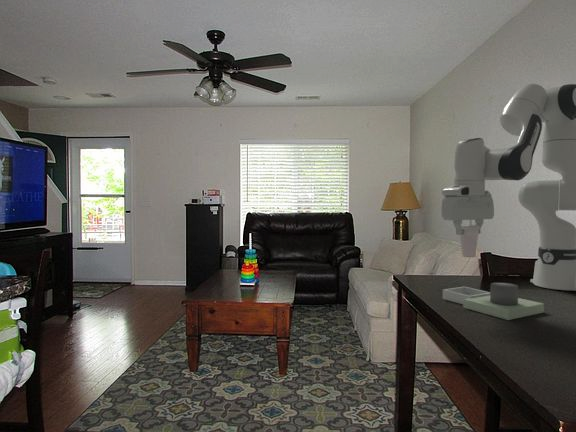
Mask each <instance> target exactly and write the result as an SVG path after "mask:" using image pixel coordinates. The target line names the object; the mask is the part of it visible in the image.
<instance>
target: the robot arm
mask: <svg viewBox="0 0 576 432" xmlns="http://www.w3.org/2000/svg"><path fill="white" fill-rule="evenodd" d="M499 122H500V125H501V127H502V128H503V130H504V131H505V132H507V133H508V134H510V135H512V136H515V137H518V139H517V142H516V144H514V145H512V146H509V147H507V148H498V149H491V148H488V147H487V146H486V145H485V142H484V138H482V137H474V138H468V139H463V140H459V142H457V144H456V146H455V152H454V161H453V162H454V164H453V165H454V166H453V167H454V172H455V176H454V179H453V184H452V185H450V186H447V187H445V188H442V191H441V194H442V196H443V198H442V200H441V218H442V219H443V220H444V221H453V223H452V224H453V226H454V229H455V234H456V236H457V235H458V236H460V235H463V234H464V229H462V227H461V225H462V224H463V221H469V220H471V221H474V223H475V224H474V225H478V226H480V229H479V231H478V235H479V234H481V233H482V232H481V231H482V230H481V228H482V227H483V224H484V220H493V219H494V216H495V207H494V206H495V205H494V199H493V197H492V194H491V192H490V191H489V190H486V188H485V187H486V181H504V180H505V181H521V180H523V179H524V178H525V177H526V176H527V175H528V174H529V173H530V171H531V169H532V165H533V158H534V154H535V151H536V149H537V145H538V142H539V140H540V136H541V133H542V128H543V123H545V126H544V130H543V137H542V159H541V160H542V161H541V162H542V164H543V166H544V167H545V168H547V169H548V170H549V171H553V172H555V173H558V174H559V175H561V177H562V179H559V180H552V179H551V180H535V181H531V182H526V183H524V184H523V185H522V186H521V187H520V189H519V190H518V195H517V196H518V197H517V198H518V202H519V204H520V205H521V207H523V208H524V209H526V210H527V211H528V212H529V213H530V214H532V215H533V217H534V218H535V220H536V221H537V224H538V229H539V247H538V250H537V253H538V254H537V256H538V259H537V260H535V262H534V270H533V271H534V272H533V278H530V281H529V282H530V283H532V284H533V285H535V286H537V287H540V288H545V289H550V290H561V291H575V292H576V226H575V225H574V224H573V223H571V222H569V221H568V220H565V219H563V218H560V217H559V216H558V215H557V213H556V212H557V211H576V83H571V84H570V83H569V84H563V85H561V86H556V87H551V88H547V89H545V88H544V87H543V86H542V85H541V84H540V85H539V84H537V83H528V84H525V85H523V86H522V87H520V88H519V89H518V90H517V91H516V92H515V93H514V94H513V95H512V96H511V98H510V99H509V100H508V101H507V103H506V105H505V106H504V107H503V109H502V111H501V113H500V116H499Z"/></svg>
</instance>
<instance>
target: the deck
mask: <svg viewBox="0 0 576 432" xmlns="http://www.w3.org/2000/svg"><path fill="white" fill-rule="evenodd" d="M489 289H490V292H489V291H486V290H482V289H478V288H477V289H476V288H473V287H469V286H468V287H467V286H460V287H452V288H445V289H442V299H443V300H445V301H449V302H452V303H456V304H461V305H462V306H463V307H462V308H463V309H467V310H471V311H474V312H478V313H480V314H484V315H489V316H493V317H495V318H499V319H503V320H506V321H510V320H511V321H512V320H514V319H515V320H516V319H519V318H523V317H524V318H525V317H529V316H533V315H539V314H542V313H545V303H543V302H538V301H534V300H530V299H529V300H528V299H524V298H521V297H519V286H518V285H517V284H513V283H508V282H507V283H506V282H492V283H490V288H489Z"/></svg>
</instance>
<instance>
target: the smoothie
mask: <svg viewBox="0 0 576 432" xmlns="http://www.w3.org/2000/svg"><path fill="white" fill-rule="evenodd" d="M468 221H469V222H468V223H469V224H463V225H462V224H461V227H462V229H464V234H463V235H459V241H460V248H461V255H462V258H463V257H464V258H475V257H476V254H477V253H476V252H477V246H478V236H479V234H478V231H479V229H480V226H478V225H475V224H472V220H468Z"/></svg>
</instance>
